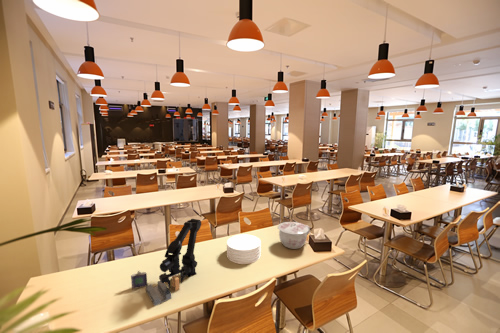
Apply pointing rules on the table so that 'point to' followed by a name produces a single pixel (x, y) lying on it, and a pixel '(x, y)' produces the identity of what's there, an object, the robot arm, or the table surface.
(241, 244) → the plate stack
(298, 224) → the chamber pot
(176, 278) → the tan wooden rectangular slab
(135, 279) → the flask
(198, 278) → the table surface
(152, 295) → the rail
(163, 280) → the robot arm
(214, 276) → the table surface
